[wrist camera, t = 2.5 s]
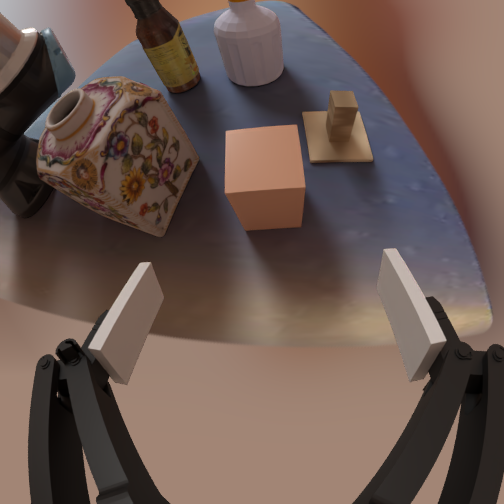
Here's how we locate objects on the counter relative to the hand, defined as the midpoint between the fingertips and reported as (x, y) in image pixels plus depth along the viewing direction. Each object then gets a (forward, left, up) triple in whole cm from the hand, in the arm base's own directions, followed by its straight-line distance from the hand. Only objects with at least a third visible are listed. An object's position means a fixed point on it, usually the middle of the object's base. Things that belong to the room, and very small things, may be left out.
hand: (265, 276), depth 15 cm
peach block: (0, +10, -14) cm, 17 cm away
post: (+9, +19, -14) cm, 25 cm away
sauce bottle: (-13, +34, -14) cm, 39 cm away
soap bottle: (-1, +34, -14) cm, 37 cm away
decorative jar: (-16, +14, -14) cm, 26 cm away
